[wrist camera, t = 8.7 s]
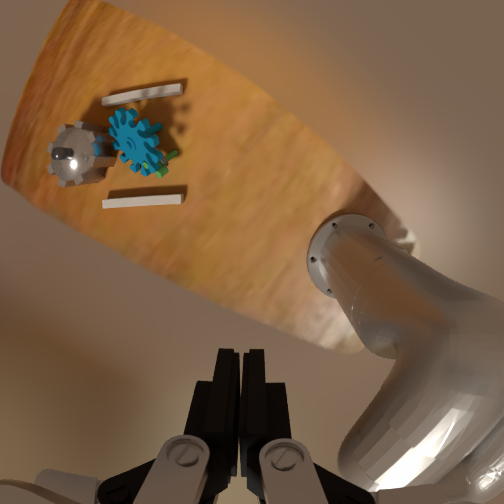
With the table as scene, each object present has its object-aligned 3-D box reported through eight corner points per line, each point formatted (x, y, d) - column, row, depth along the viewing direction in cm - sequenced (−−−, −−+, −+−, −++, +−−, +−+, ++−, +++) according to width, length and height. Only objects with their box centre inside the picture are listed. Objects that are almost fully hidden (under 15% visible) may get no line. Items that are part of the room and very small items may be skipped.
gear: (98, 138, 33) (114, 96, 25) (129, 119, 36) (152, 79, 28) (144, 194, 37) (171, 166, 29) (172, 171, 40) (204, 141, 32)
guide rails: (183, 86, 32) (180, 83, 31) (183, 202, 37) (180, 203, 36) (106, 99, 33) (102, 97, 31) (107, 206, 37) (102, 208, 36)
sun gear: (116, 121, 34) (83, 111, 25) (117, 180, 36) (83, 184, 27) (70, 131, 34) (34, 127, 25) (71, 186, 36) (34, 192, 27)
